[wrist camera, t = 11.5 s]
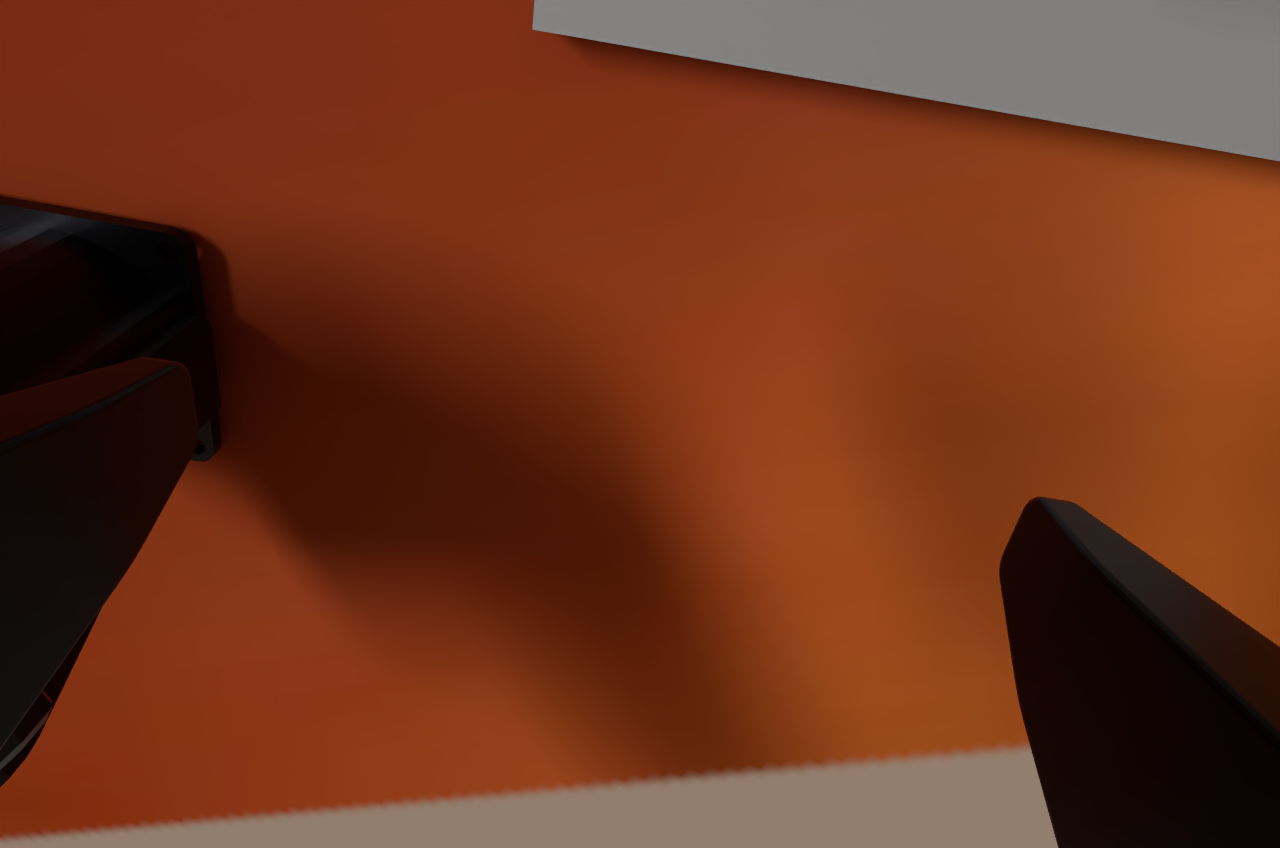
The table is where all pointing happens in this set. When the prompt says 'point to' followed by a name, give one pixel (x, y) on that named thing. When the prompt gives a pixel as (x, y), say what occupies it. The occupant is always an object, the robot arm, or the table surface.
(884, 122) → the table surface
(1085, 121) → the post board
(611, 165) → the table surface
